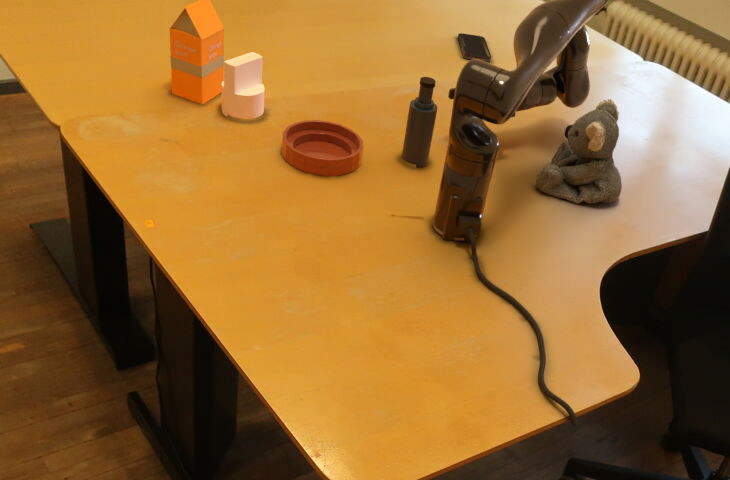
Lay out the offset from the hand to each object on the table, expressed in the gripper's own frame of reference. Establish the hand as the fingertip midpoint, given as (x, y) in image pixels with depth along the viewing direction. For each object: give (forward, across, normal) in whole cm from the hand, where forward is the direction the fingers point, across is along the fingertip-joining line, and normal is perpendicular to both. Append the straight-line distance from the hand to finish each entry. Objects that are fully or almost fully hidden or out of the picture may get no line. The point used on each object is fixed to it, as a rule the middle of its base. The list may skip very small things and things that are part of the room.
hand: (461, 103), depth 179 cm
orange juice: (+40, -42, +12) cm, 59 cm away
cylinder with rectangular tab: (+35, -31, +12) cm, 48 cm away
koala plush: (-19, +23, +12) cm, 32 cm away
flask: (+10, 0, +12) cm, 16 cm away
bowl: (+29, -8, +12) cm, 33 cm away
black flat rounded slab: (-43, -46, +11) cm, 64 cm away
